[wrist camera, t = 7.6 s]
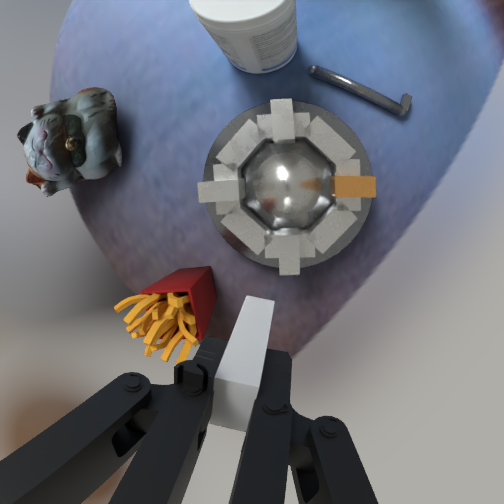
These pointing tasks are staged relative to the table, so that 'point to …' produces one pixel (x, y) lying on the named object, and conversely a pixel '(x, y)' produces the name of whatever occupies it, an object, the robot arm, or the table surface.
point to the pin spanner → (362, 90)
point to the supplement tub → (251, 31)
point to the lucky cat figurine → (72, 140)
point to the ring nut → (287, 239)
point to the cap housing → (288, 183)
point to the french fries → (173, 311)
